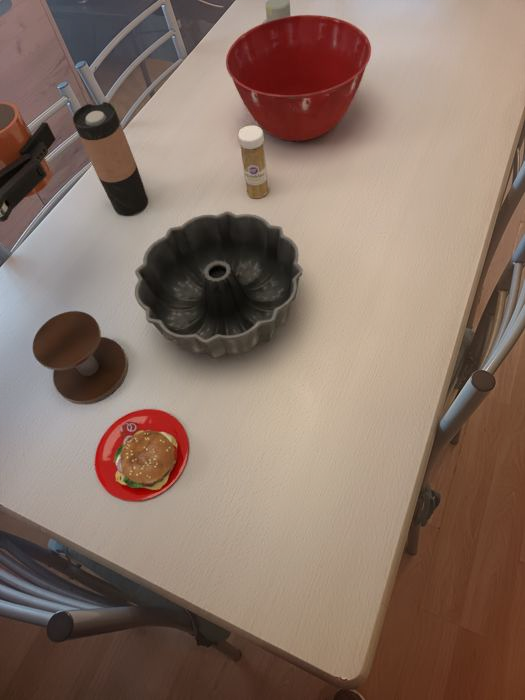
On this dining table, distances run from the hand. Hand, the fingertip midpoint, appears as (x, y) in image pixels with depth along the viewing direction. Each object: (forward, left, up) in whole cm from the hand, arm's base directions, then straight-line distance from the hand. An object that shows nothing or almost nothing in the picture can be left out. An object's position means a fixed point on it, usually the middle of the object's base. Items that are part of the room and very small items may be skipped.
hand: (23, 128), depth 73 cm
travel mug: (+2, +14, -27) cm, 30 cm away
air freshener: (+17, +76, -27) cm, 82 cm away
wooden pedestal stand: (+12, -24, -27) cm, 38 cm away
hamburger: (+26, -35, -27) cm, 51 cm away
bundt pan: (+30, -7, -27) cm, 41 cm away
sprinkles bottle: (+27, +22, -27) cm, 44 cm away
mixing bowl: (+30, +45, -27) cm, 60 cm away
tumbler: (0, -5, -6) cm, 7 cm away
